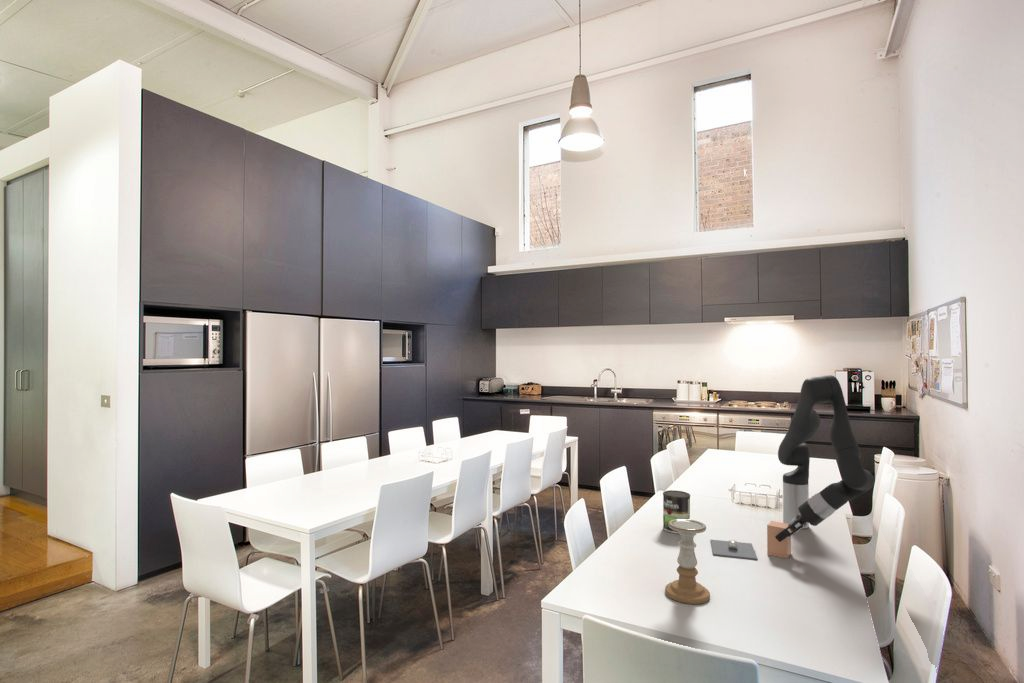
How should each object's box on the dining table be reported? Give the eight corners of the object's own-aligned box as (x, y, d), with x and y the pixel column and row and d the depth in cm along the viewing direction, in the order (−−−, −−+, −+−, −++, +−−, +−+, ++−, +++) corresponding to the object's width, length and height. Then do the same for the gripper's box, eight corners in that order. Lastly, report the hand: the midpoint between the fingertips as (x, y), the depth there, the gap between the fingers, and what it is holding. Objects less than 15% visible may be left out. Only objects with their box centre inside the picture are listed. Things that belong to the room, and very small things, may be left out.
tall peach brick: (771, 549, 191) (771, 520, 192) (790, 553, 187) (790, 524, 188) (767, 554, 186) (767, 525, 187) (787, 558, 183) (786, 528, 183)
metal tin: (727, 546, 192) (727, 539, 192) (737, 547, 191) (736, 540, 191) (728, 549, 189) (728, 542, 189) (737, 550, 189) (737, 543, 189)
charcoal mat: (710, 540, 200) (710, 539, 200) (751, 544, 195) (751, 543, 196) (713, 555, 185) (713, 553, 185) (757, 560, 181) (757, 558, 181)
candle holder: (719, 601, 151) (719, 528, 151) (681, 607, 147) (680, 532, 148) (692, 583, 163) (692, 516, 163) (656, 588, 159) (656, 519, 159)
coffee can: (680, 535, 205) (680, 498, 205) (657, 529, 213) (657, 493, 213) (695, 530, 212) (695, 494, 212) (672, 523, 219) (672, 488, 220)
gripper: (812, 495, 187) (776, 521, 194) (804, 503, 176) (766, 532, 183) (829, 513, 184) (792, 539, 191) (823, 523, 173) (784, 551, 180)
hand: (780, 536), depth 187 cm, fingers open, 8 cm apart
